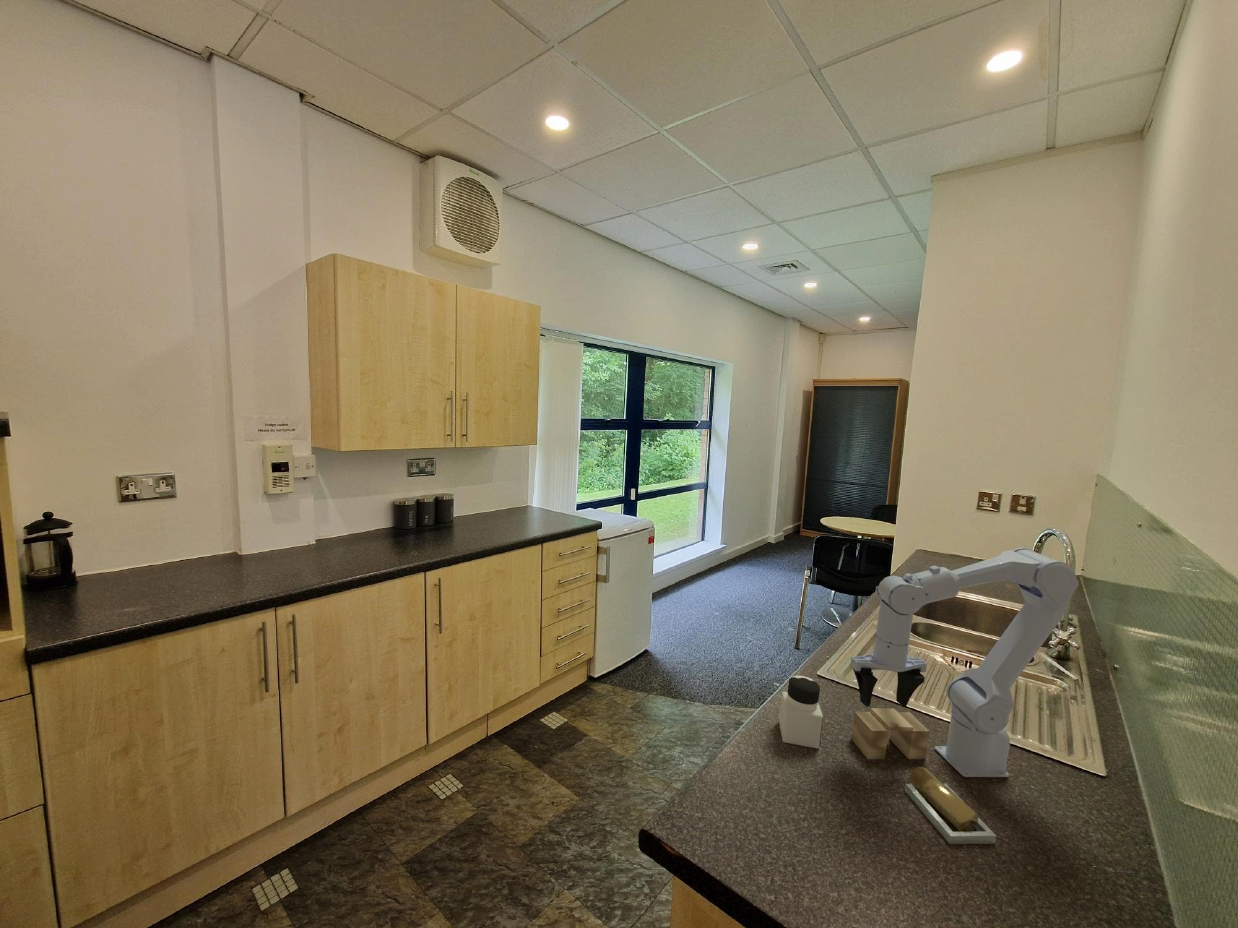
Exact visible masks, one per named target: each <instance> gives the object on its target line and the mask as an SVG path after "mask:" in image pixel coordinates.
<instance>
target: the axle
mask: <svg viewBox="0 0 1238 928" xmlns="http://www.w3.org/2000/svg"><path fill="white" fill-rule="evenodd" d="M909 784H912V786H913V787H914V788H915V789H916V790H917V791H918V792H919V794H920V795H921V796H922V797H923V798H924V799H925V800H926V801H927V802H929V804H930V805H932V807H933V808H935V809H936V810H937V811H938V812H939V813H940V814H941V815H942V816H943V817H944V818H945V819H946V820H947V821H949V823H950V824H952V826H954V828H956V829H957V830H958V832H974V830H976V829H975V827H976V826H977V823H978V817H979V815H978V814H977V812H976V811H974V810H973V809H972V808H971V807H970V806H969V805H968V804H966V803H965V802H964V800H963V799H961V797H959V796H958V797H957V796H956V795H955V794H954V793H953V792H952V791H951V790H949V789H948V788H947V787H946V786H945V785H944V784H945V783H942V781H941V780H939V779H938V778H937V777H936V776H935V775H934V774H932V773H931V772H930V771H929V770H928V769H927V768H925V767H924V766H918V767H915V768H914V769H913V770H912V771H911V773H910V774H909Z"/></svg>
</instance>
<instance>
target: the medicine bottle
mask: <svg viewBox="0 0 1238 928" xmlns="http://www.w3.org/2000/svg"><path fill="white" fill-rule="evenodd" d="M820 692H821V688H820V685H819V684H818V682H817V681H815V680H814V679H812V678H810V677H807V676H804V675H793V676H791V677H789V679H788V685H787V691H782V692H781V698H780V707H779V714H778V715H779V716H778V723H779V728H780V729H779V730H780V735H781V739H782V742H783V743H787V744H791V745H796V746H801V747H806V748H813V749H817V750H819V749H820V746H821V738H822V732H823V731H822V729H823V722H824V715H823V712H822V710H821V706H820V703H819V701H820Z"/></svg>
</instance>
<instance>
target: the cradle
mask: <svg viewBox="0 0 1238 928" xmlns="http://www.w3.org/2000/svg"><path fill="white" fill-rule="evenodd" d="M943 784H944V785H945V786H946V787H947V788H948V789H949V790H951V791H952V792H953V793H954V794H955V795H956V796H957V797H959V796H958V794H957V793H956V792H955V791H954V790H953V789H952V788H951V787H950V786H949V785H948V783H943ZM904 792H905V793H906V794H907V795H908V797H909V798H910V799H911V800H912V802H913V803H914V804H915V805H916V807H917V808H918V809H919V810H920V811H921V812H922V813H923V814H924V816H925V817H926V818H927V820H929V822H930V823H931V824H932V825H933V826H934V828H935V829H936V831H938V832H939V833H940V835H941V836H942V837H943V839H945V841H946V842H947V843H948V844H949V845H974V844H975V845H977V844H978V845H979V844H980V845H981V844H985V845H986V844H987V845H989V844H990V845H991V844H996V841H997V839H996V838H997V834H995V833H994V832H993V830H991V829H990V827H988V826H987V825H986V824H985V822H984V821H982V819H981V818H980V817H979V816H978V823H977V826H976V827H975V829H974V830H976V831H971V832H960V831H953V830H952V829H951V828H950V827H949V826H948V824H946V822H945V821H944V820H943V819H942V818H941V817H940V816H939V814H938V813H937V812H936V811H935V809H934V808H933V806H931V804H930V803H928V801H927V800H926V799H925V798H924V797H923V796H922V795H921V794H920V793H919V792H918V791H917V790H916V789H915V788H914V787H913V786H912V784H910V783H905V786H904Z"/></svg>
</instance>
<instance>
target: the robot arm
mask: <svg viewBox="0 0 1238 928" xmlns="http://www.w3.org/2000/svg"><path fill="white" fill-rule="evenodd" d="M1001 581H1002V582H1003V581H1009V582H1012V583H1015V584H1016V585H1017V587H1018V588H1019V590H1020V593H1021V595H1022V597H1023V599H1024V604H1023V605H1022V606H1021V608H1020V610H1018V612H1017V614H1016V615H1015V616H1014V618H1013V620H1012V621H1011V622H1010V624H1009V625H1008V626H1007V628H1006V629H1005V630H1004V632H1003V633H1002V635H1000V638H998V640H997V642H996V643H995V644H994V645H993V647H992V648H991V650H990V651H989V653H988V654H987V655H986V657H985V658H984V660H983V661H982V662H981V664H980V665H979V667H976V668H967V669H964V671H963V672H962V673H961V675H960V676H958V677H956V678H953V679H952V680H951V681H950V682H949V683H948V685H947V687H946V696H947V698H948V700H949V701H950V702H951V705H950V706H951V707H950V708H951V715H950V721H949V727H948V734H947V740H946V745H943V746H942V745H939V746H936V745H935V746H934V750H935V751H936V752H937V753H938V754H939V755H940V756H942V758H943V759H945V760H946V761H947V762H948V763H949V765H951V766H952V767H953V768H954V769H955V771H957V772H958V773H959V774H960V775H961V776H962V777H963V778H1009V777H1010V776H1009V775H1010V774H1009V773H1008V772H1007V771H1006V769H1007V762H1008V757H1009V751H1010V746H1011V741H1010V736H1009V733H1008V731H1007V729H1006V727H1007V726H1008V724H1009V719H1010V718H1009V717H1010V713H1011V711H1012V710H1013V708H1014V707H1015V703H1014V698H1013V695H1012V692H1011V691H1012V690H1011V688H1012V687H1013V685H1014V683H1016V681H1017V679H1018V678H1019V677H1020V676H1021V674H1022V673H1023V671H1024V670H1025V669H1026V667H1027V666H1028V665H1029V663H1030V662H1031V661H1032V659H1033V658H1034V657H1035V655H1036V654H1037V653H1038V651H1039V650H1040V649H1041V647H1042V646H1043V645H1044V643H1045V642H1046V640H1047V639H1048V638H1049V637H1050V635H1051V634H1052V632H1053V631H1054V629H1055V628H1056V627H1057V625H1058V624H1059V623H1060V621H1061V620H1062V618H1064V616H1065V615H1066V613H1067V610H1068V606H1069V602H1070V598H1071V597H1072V595H1073V594H1074V592H1075V591H1076V590H1077V589H1078V587H1079V585H1080V583H1079V581H1078V577H1077V576H1076V573H1075V571H1074V568H1072V566H1070V565H1069V564H1068V563H1066V562H1063V561H1060V560H1056V559H1053V558H1051V557H1048V556H1046V555H1044V554H1041V553H1038V552H1036V551H1034V550H1032V549H1030V548H1027V547H1016V548H1014V549H1012V550H1009V549H1008V550H1003V551H1002V552H1001V553H1000V554H999V555H997V556H994V557H991V558H988V559H985V560H982V561H978V562H975V563H972V564H969V565H965V566H962V567H959V568H956V569H953V570H950V569H948V568H947V567H944V566H937V565H931V566H929V569H928V570H924V571H921V572H916V573H905V574H904V575H903V577H900V576H897V575H889V576H886V577H884V578H883V579H882V580H881V581H880V582H879V584H878V586H875V593H876V595H877V597H878V599H879V610H878V615H877V616H878V617H877V624H876V630H875V631H876V632H875V638H874V645H873V646H874V647H873V650H872V653H868V654H864V655H859V656H851V658H850V665H849V666H850V667H851V668H852V671H853V673H854V676H855V678H856V682H857V686H858V690H859V699H860V700H859V701H860V702H861V703H862V704H863V705H864V706H865V707H867V708H868V707H870V705H871V702H872V697H873V692H874V689H875V687H876V684H877V682H878V680H879V679H878V678H877V677H876V676H875V675H874V672H872V671H873V670H874V671H877V670H878V671H889V672H895V673H896V675H897V676H896V677H897V688H896V694H895V695H896V697H895V698H896V699H895V700H896V702H897V703H898V704H899V705H900V706H901V707H903V708H906V707H907V705H908V703H909V702H910V700H911V698H912V696H913V694H914V692H915V691H916V690H917V689H918V688H919V687H920V686H921V685H922V684H924V682H925V678H926V677H925V676H924V674H922V673H926V672H927V669H928V663H927V662H926V661H924V660H923V659H922V658H920V657H911V656H908V653H909V646H910V639H911V632H912V625H913V618H914V614H916V613H917V612H919V611H920V609H921V608H922V607H923V606H926V605H927V604H930V603H935V602H939V601H942V600H947V599H950V598H955V597H957V596H958V594H959V592H960V590H961V589H964V588H970V587H974V586H980V585H985V584H990V583H996V582H1001Z"/></svg>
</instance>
